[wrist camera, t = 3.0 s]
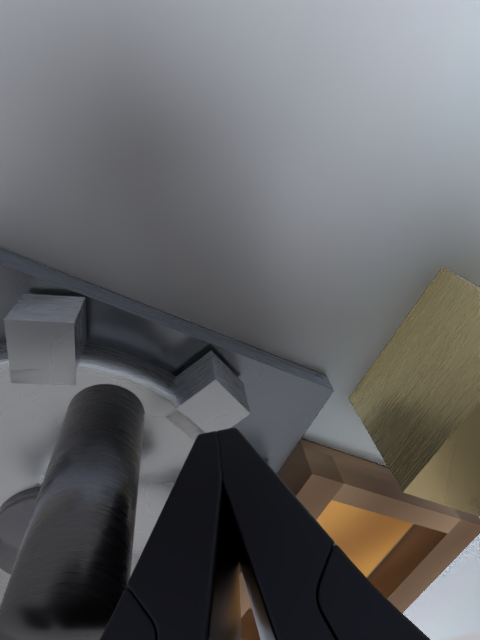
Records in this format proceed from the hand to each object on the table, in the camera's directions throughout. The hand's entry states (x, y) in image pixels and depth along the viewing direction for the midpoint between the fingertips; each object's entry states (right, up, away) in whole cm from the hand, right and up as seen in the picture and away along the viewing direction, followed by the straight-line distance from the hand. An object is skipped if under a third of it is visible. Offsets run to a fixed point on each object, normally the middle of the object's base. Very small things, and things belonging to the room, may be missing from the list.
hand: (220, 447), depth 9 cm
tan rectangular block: (+7, +1, +6) cm, 9 cm away
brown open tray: (+4, -6, +9) cm, 12 cm away
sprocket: (-5, -2, +5) cm, 8 cm away
